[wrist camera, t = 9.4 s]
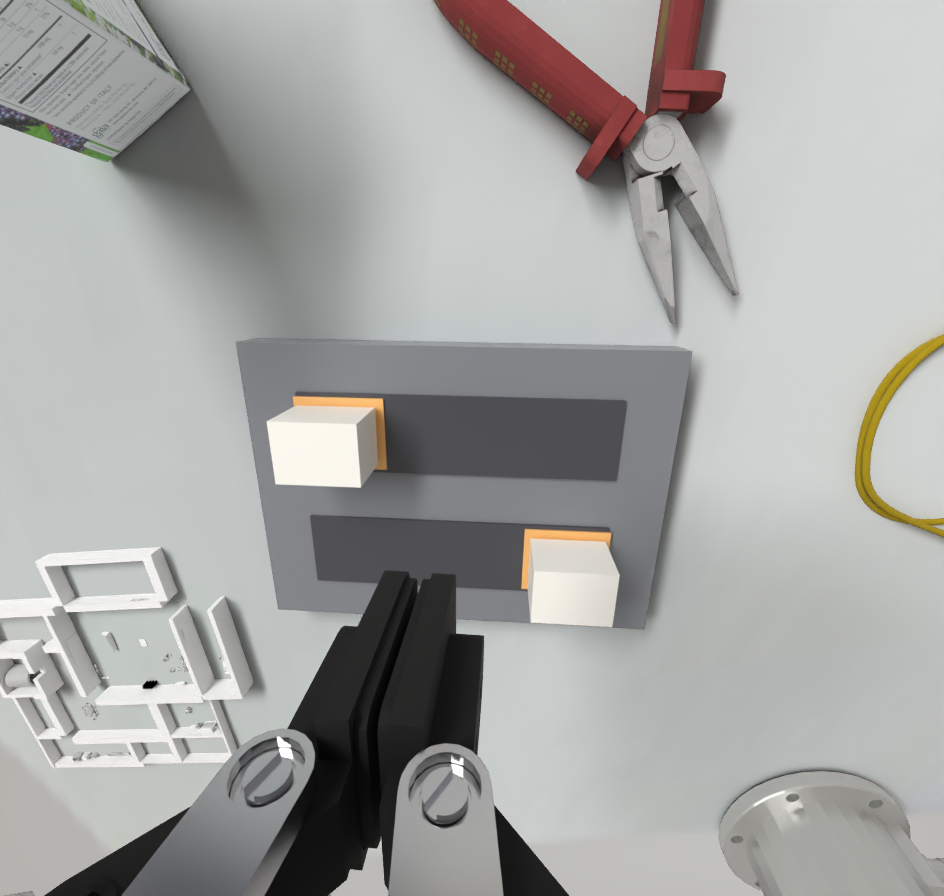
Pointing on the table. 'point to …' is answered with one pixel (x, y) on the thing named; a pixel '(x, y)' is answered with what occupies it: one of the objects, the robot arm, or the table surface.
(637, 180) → the pliers
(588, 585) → the tab
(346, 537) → the switch panel
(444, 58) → the table surface
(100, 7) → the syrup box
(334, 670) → the robot arm
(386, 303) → the table surface
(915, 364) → the extension cord
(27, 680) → the floor plan model
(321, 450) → the tab
